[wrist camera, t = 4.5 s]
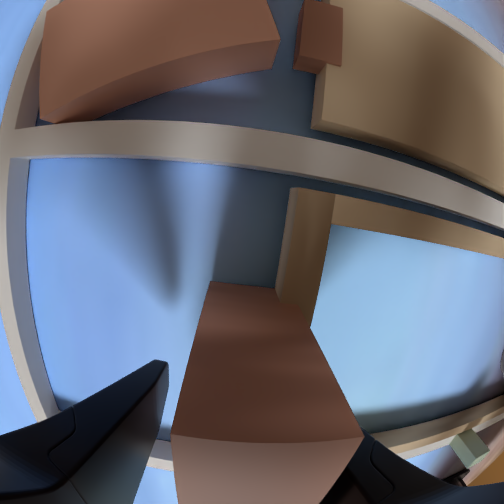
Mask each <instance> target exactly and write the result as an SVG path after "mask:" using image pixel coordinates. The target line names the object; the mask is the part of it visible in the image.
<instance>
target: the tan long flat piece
mask: <svg viewBox="0 0 504 504" xmlns="http://www.w3.org/2000/svg"><path fill="white" fill-rule="evenodd" d="M293 69H295V70H300V71H305V72H309V73H314V74H316V81H315V91H314V101H313V110H312V119H311V128H310V129H313V130H318V131H322V132H327V133H331V134H335V135H339V136H343V137H347V138H351V139H355V140H359V141H362V142H366V143H369V144H373V145H376V146H379V147H383V148H386V149H389V150H392V151H395V152H398V153H401V154H404V155H407V156H410V157H413V158H416V159H419V160H421V161H424V162H427V163H430V164H432V165H435V166H437V167H440V168H442V169H445V170H447V171H450V172H452V173H454V174H457V175H459V176H461V177H464V178H466V179H468V180H470V181H473V182H475V183H477V184H479V185H481V186H483V187H485V188H487V189H489V190H491V191H493V192H495V193H497V194H499V195H501V196H503V197H504V68H503V67H502V66H501V65H499V64H498V63H497V62H496V61H495V60H494V59H492V58H491V57H490V56H489V55H487V54H486V53H485V52H484V51H482V50H481V49H480V48H478V47H477V46H476V45H474V44H473V43H471V42H470V41H469V40H467V39H466V38H464V37H463V36H461V35H460V34H458V33H457V32H455V31H454V30H452V29H451V28H449V27H448V26H446V25H444V24H443V23H441V22H439V21H438V20H436V19H434V18H433V17H431V16H429V15H427V14H425V13H424V12H422V11H420V10H418V9H416V8H414V7H412V6H410V5H408V4H406V3H404V2H402V1H400V0H321V2H319V1H315V0H304V2H303V5H302V7H301V10H300V12H299V17H298V27H297V36H296V44H295V53H294V62H293Z"/></svg>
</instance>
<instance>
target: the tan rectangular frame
mask: <svg viewBox="0 0 504 504" xmlns="http://www.w3.org/2000/svg"><path fill="white" fill-rule="evenodd" d="M331 224H334V225H340V226H346V227H352V228H358V229H363V230H369V231H375V232H380V233H386V234H391V235H396V236H402V237H407V238H412V239H417V240H422V241H427V242H432V243H437V244H442V245H446V246H451V247H456V248H460V249H465V250H469V251H474V252H478V253H482V254H487V255H491V256H495V257H499V258H503V259H504V238H502V237H499V236H496V235H493V234H490V233H487V232H484V231H481V230H478V229H474V228H471V227H468V226H465V225H461V224H458V223H455V222H451V221H448V220H444V219H441V218H437V217H433V216H430V215H426V214H422V213H418V212H414V211H410V210H406V209H402V208H398V207H394V206H390V205H385V204H381V203H377V202H372V201H367V200H363V199H358V198H353V197H348V196H343V195H338V194H333V193H328V192H323V191H317V190H311V189H306V188H300V187H296V188H290V193H289V200H288V207H287V214H286V221H285V227H284V234H283V240H282V247H281V253H280V259H279V265H278V272H277V278H276V284H275V288H267V287H258V286H249V285H240V284H231V283H223V282H215V281H210V284H209V287H208V291H207V294H206V298H205V301H204V305H203V308H202V312H201V315H200V319H199V323H198V326H197V330H196V334H195V337H194V341H193V345H192V349H191V352H190V356H189V360H188V364H187V368H186V372H185V375H184V379H183V383H182V387H181V391H180V395H179V399H178V403H177V408H176V412H175V416H174V420H173V424H172V428H171V433H170V437H171V449H172V459H173V468H174V476H175V484H176V491H177V498H178V504H319V503H320V502H321V500H322V499H323V498H324V497H325V495H326V494H327V493H328V491H329V490H330V489H331V487H332V486H333V484H334V483H335V482H336V480H337V479H338V477H339V476H340V475H341V473H342V472H343V470H344V469H345V467H346V466H347V464H348V463H349V461H350V460H351V458H352V456H353V455H354V453H355V452H356V450H357V448H358V447H359V445H360V443H361V442H362V440H363V438H364V437H365V436H364V434H363V432H362V430H361V428H360V426H359V424H358V422H357V420H356V418H355V416H354V414H353V412H352V410H351V408H350V406H349V404H348V402H347V400H346V398H345V396H344V394H343V392H342V390H341V388H340V386H339V384H338V382H337V380H336V378H335V376H334V374H333V372H332V370H331V368H330V366H329V364H328V362H327V360H326V358H325V356H324V354H323V352H322V350H321V348H320V346H319V344H318V342H317V340H316V339H315V337H314V335H313V333H312V331H311V329H310V326H311V322H312V318H313V313H314V309H315V304H316V300H317V295H318V291H319V286H320V281H321V276H322V271H323V266H324V261H325V256H326V250H327V245H328V239H329V234H330V228H331ZM502 413H504V395H501V396H499V397H497V398H495V399H492V400H490V401H487V402H485V403H482V404H480V405H477V406H475V407H472V408H469V409H467V410H464V411H461V412H458V413H455V414H452V415H449V416H446V417H442V418H439V419H435V420H432V421H428V422H425V423H421V424H417V425H413V426H408V427H404V428H399V429H394V430H389V431H384V432H379V433H373V434H370V435H371V436H372V437H374V438H375V440H378V441H379V442H380V443H382V444H383V445H384V446H385V447H387V448H388V449H390V450H391V451H392V452H394V453H395V454H398V453H402V452H406V451H409V450H413V449H416V448H419V447H423V446H426V445H429V444H432V443H435V442H438V441H441V440H443V439H446V438H449V437H451V436H454V435H457V434H459V433H462V432H464V431H466V430H469V429H471V428H473V427H475V426H478V425H480V424H482V423H484V422H486V421H488V420H490V419H492V418H494V417H496V416H498V415H500V414H502Z"/></svg>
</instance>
